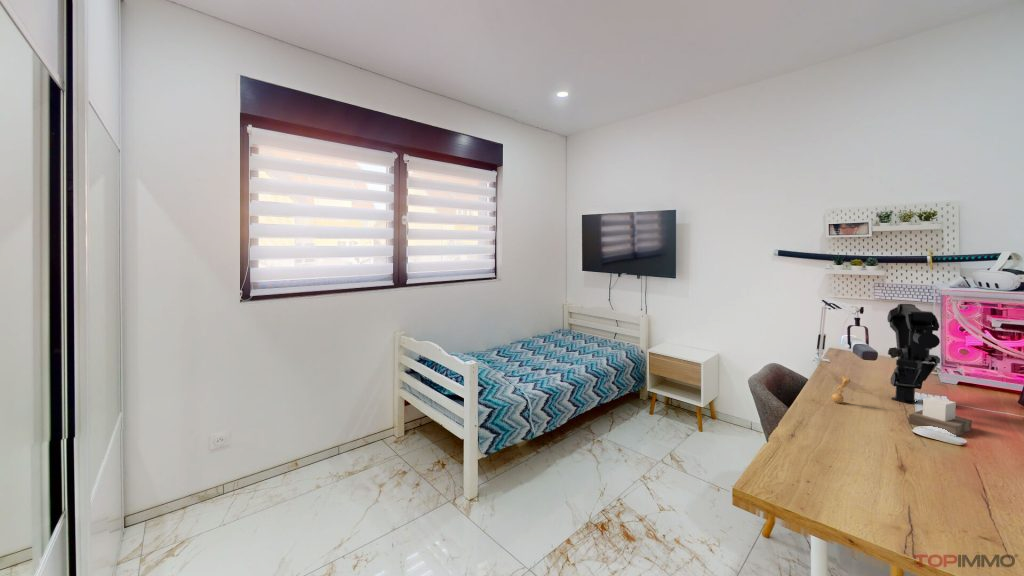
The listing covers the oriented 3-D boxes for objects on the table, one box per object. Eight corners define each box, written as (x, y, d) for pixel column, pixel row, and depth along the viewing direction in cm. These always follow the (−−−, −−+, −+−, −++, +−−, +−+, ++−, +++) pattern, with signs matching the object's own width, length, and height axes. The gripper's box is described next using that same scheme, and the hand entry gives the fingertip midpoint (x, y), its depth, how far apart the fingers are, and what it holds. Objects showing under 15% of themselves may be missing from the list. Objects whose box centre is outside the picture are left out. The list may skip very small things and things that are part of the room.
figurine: (835, 399, 170) (836, 372, 169) (853, 403, 164) (854, 375, 164) (827, 403, 165) (828, 375, 164) (845, 407, 160) (846, 379, 159)
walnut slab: (924, 418, 149) (925, 408, 149) (971, 431, 138) (971, 420, 138) (908, 424, 144) (909, 414, 144) (955, 438, 133) (956, 426, 133)
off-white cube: (932, 412, 145) (933, 396, 144) (954, 418, 139) (955, 402, 139) (922, 415, 143) (923, 399, 143) (944, 421, 137) (945, 404, 137)
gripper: (904, 337, 163) (902, 373, 164) (880, 341, 156) (878, 380, 157) (941, 342, 153) (939, 381, 154) (917, 347, 146) (915, 388, 147)
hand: (917, 382), depth 153 cm, fingers open, 9 cm apart
